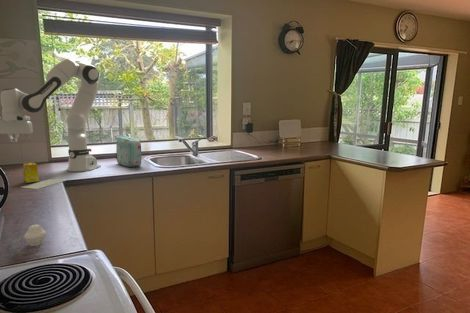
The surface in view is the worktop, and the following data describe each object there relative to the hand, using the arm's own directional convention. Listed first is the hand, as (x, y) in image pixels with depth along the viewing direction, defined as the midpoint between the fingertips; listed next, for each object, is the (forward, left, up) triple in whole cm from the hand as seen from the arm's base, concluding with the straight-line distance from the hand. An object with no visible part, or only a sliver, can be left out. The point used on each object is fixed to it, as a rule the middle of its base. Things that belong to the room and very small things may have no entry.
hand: (14, 141), depth 191 cm
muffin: (+65, +83, -23) cm, 108 cm away
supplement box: (0, +10, -23) cm, 25 cm away
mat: (+1, +20, -23) cm, 31 cm away
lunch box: (-63, +32, -23) cm, 74 cm away
